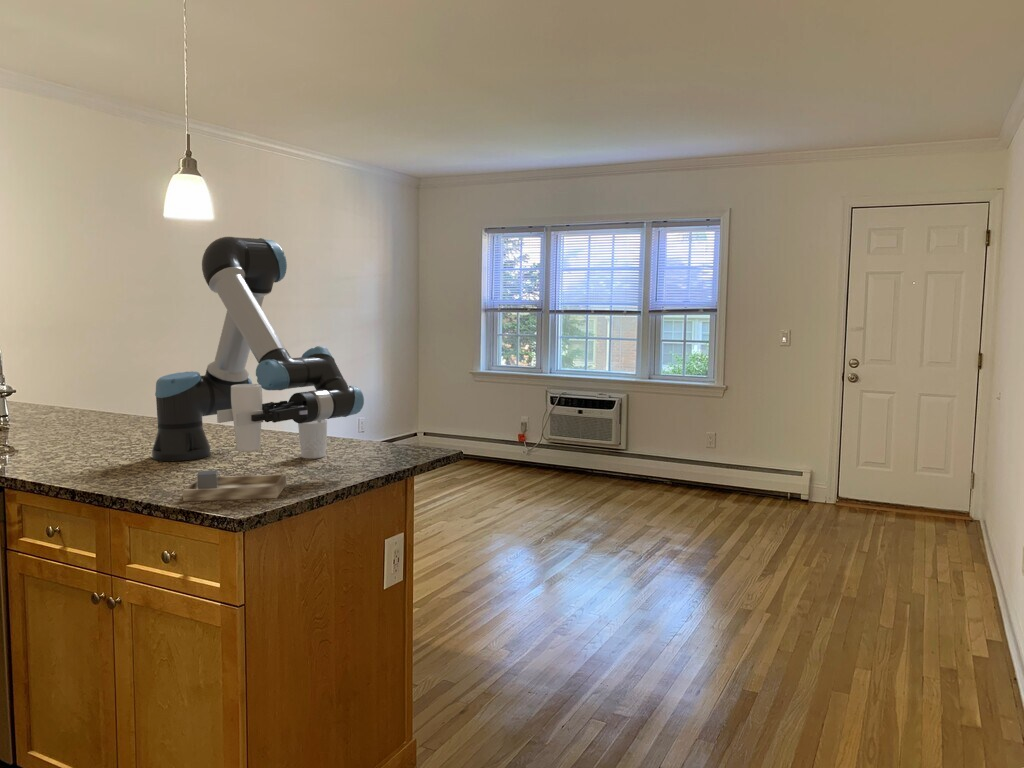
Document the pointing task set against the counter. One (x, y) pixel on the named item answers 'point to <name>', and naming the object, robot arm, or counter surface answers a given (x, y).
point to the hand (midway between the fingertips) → (227, 418)
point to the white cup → (313, 439)
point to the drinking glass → (246, 401)
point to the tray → (238, 488)
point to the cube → (208, 479)
